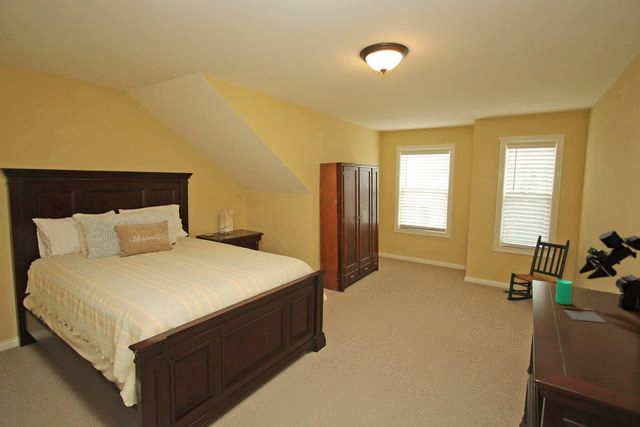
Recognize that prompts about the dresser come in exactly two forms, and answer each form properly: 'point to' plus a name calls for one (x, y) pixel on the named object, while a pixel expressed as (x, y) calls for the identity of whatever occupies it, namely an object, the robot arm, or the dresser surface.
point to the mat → (584, 316)
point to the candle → (563, 291)
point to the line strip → (579, 308)
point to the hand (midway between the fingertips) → (583, 275)
